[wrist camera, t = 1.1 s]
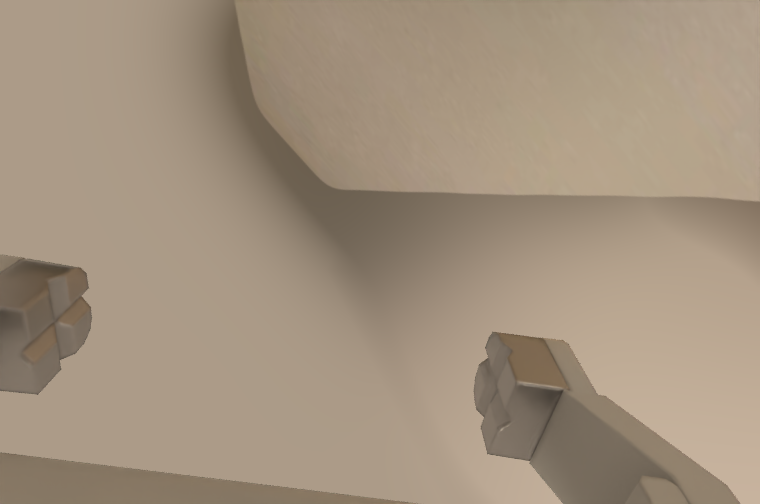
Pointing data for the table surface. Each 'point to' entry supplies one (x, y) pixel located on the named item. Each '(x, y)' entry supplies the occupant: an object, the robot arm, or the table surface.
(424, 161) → the table surface
